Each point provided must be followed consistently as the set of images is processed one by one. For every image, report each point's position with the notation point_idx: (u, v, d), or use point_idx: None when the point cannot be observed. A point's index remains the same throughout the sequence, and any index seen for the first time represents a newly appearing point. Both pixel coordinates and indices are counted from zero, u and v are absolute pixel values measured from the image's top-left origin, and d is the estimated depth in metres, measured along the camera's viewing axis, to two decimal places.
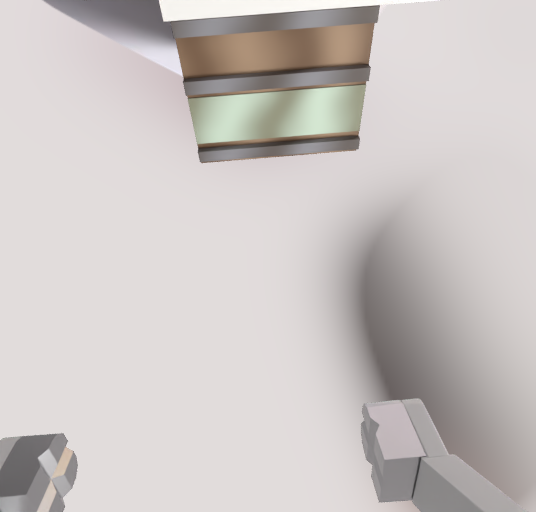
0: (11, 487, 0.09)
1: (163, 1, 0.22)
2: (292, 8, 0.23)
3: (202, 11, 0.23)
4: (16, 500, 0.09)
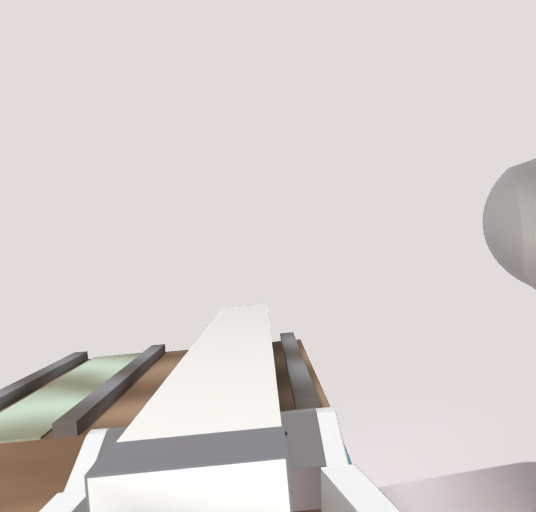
0: None
1: (235, 307, 0.29)
2: (210, 325, 0.22)
3: (224, 311, 0.27)
4: None
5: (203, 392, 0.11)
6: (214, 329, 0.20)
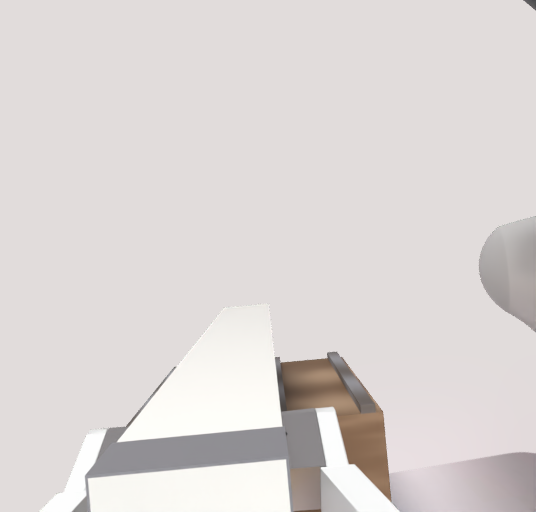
0: None
1: (237, 306, 0.29)
2: (212, 325, 0.22)
3: (225, 311, 0.27)
4: None
5: (204, 392, 0.11)
6: (215, 329, 0.20)
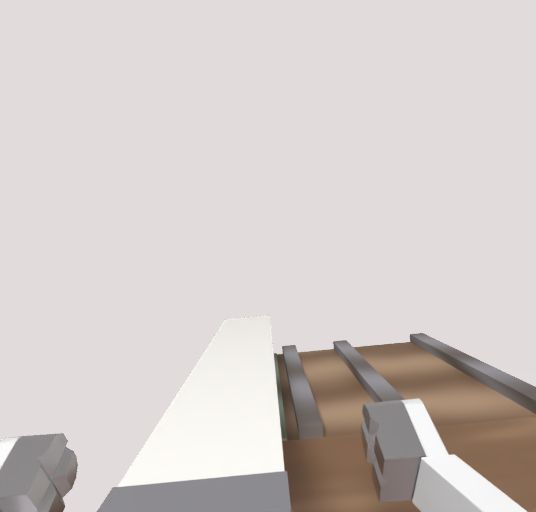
0: (11, 487, 0.09)
1: (238, 318, 0.29)
2: (213, 341, 0.22)
3: (226, 324, 0.27)
4: (16, 500, 0.09)
5: (205, 425, 0.11)
6: (217, 346, 0.20)
